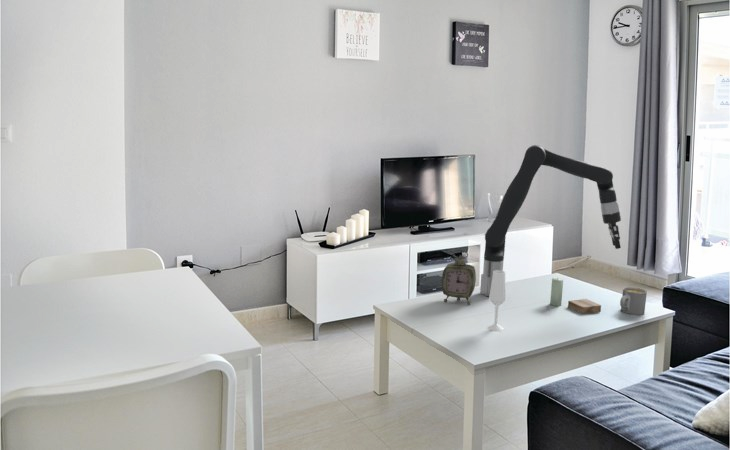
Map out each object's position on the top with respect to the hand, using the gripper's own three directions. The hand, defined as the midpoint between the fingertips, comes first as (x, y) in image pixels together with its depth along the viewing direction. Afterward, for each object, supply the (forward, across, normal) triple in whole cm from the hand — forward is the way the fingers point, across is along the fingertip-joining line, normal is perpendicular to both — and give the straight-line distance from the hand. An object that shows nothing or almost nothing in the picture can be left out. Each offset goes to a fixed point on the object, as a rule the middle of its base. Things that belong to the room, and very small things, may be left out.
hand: (616, 246), depth 300 cm
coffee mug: (+30, +3, 0) cm, 30 cm away
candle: (+22, +2, -31) cm, 38 cm away
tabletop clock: (+11, +13, -74) cm, 76 cm away
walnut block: (+25, +6, -19) cm, 32 cm away
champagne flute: (+17, +44, -56) cm, 74 cm away
